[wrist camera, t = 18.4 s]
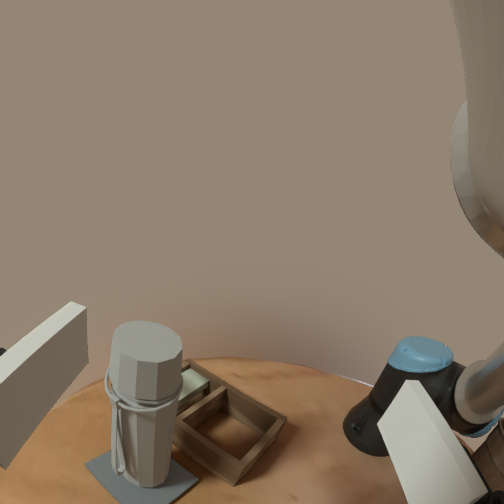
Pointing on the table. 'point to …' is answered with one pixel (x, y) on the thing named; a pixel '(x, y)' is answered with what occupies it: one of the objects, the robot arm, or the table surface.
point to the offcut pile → (191, 390)
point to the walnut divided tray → (235, 406)
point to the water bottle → (144, 399)
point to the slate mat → (132, 496)
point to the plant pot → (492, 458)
